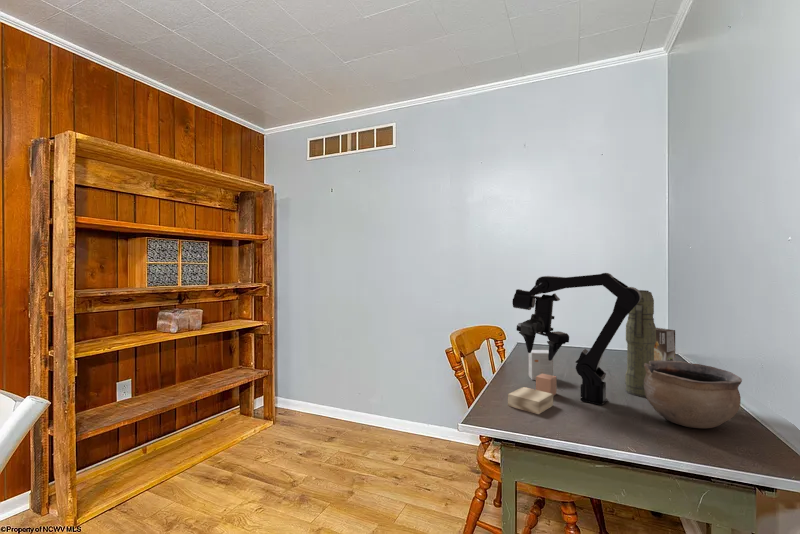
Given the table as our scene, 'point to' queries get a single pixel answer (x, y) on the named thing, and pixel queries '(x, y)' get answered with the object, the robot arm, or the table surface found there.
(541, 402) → the birch base block
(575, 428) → the table surface
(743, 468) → the table surface
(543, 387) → the terracotta block
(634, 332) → the thermos
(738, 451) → the table surface
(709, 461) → the table surface
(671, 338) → the coffee box
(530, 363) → the small box
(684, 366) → the ceramic bowl
